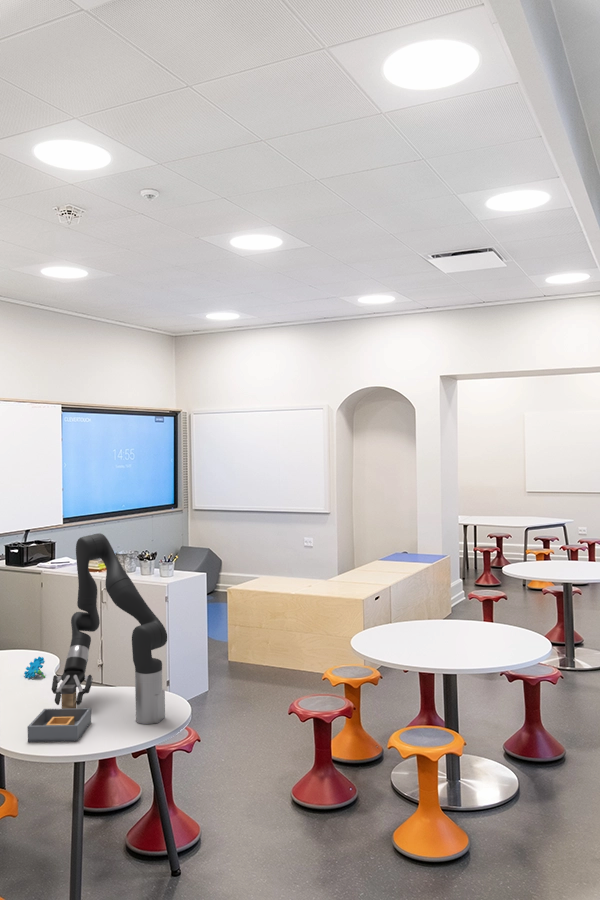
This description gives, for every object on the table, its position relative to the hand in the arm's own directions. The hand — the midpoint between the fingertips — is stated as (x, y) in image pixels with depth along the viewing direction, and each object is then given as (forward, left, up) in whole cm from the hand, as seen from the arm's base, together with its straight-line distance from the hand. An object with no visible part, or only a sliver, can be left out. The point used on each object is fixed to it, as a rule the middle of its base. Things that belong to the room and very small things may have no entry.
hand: (67, 703), depth 261 cm
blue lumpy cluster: (+38, -37, -5) cm, 53 cm away
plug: (0, -2, -4) cm, 5 cm away
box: (-6, +13, -4) cm, 15 cm away
